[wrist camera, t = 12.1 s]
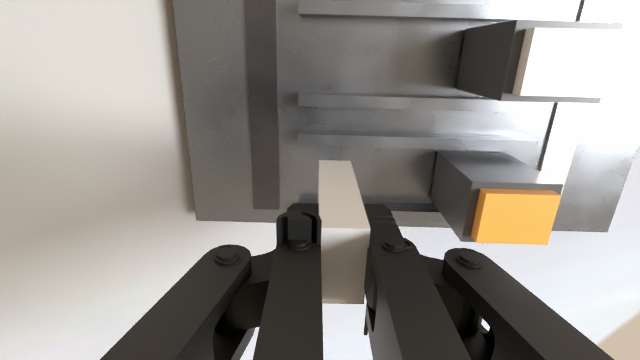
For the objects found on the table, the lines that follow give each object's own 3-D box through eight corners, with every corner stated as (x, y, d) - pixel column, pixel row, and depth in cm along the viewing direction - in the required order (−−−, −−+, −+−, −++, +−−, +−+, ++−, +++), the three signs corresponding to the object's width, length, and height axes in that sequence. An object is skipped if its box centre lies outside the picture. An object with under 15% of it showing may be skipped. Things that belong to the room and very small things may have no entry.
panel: (201, 213, 23) (189, 229, 21) (161, -180, 16) (136, -215, 14) (595, 224, 23) (622, 241, 21) (727, -166, 16) (789, -199, 14)
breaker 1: (456, 89, 19) (508, 103, 13) (465, 28, 18) (525, 18, 12) (530, 91, 19) (611, 106, 13) (544, 31, 18) (637, 21, 12)
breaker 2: (430, 199, 21) (466, 248, 16) (437, 151, 20) (478, 186, 15) (496, 201, 21) (554, 250, 16) (506, 153, 20) (572, 189, 15)
